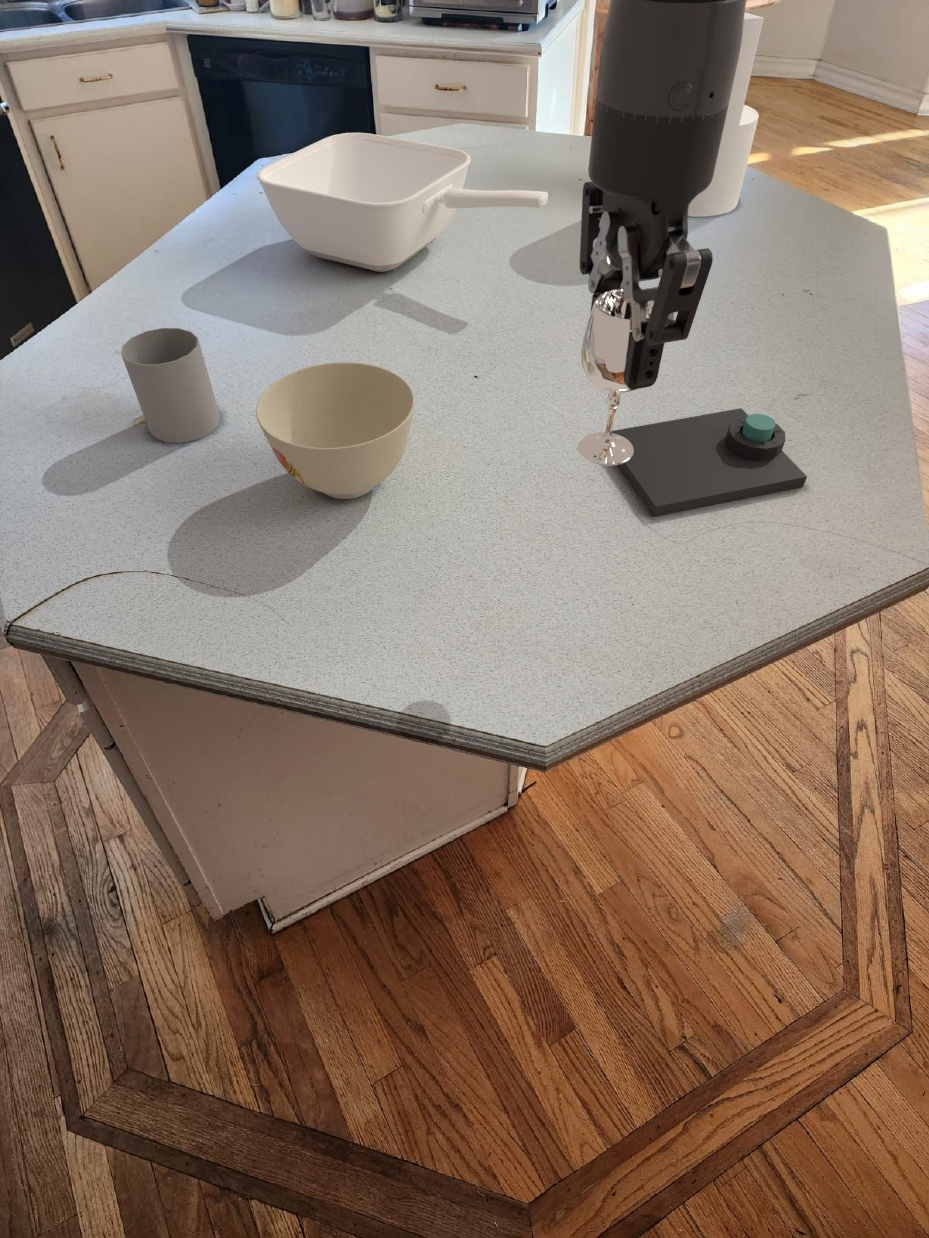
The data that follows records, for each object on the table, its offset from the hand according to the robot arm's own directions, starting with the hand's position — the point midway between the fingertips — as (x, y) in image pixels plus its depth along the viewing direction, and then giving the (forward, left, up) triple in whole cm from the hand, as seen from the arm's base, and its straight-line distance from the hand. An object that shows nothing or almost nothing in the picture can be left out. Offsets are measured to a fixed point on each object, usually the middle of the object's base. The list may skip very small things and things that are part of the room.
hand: (619, 362), depth 56 cm
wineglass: (0, 0, -8) cm, 8 cm away
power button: (-27, -15, -21) cm, 37 cm away
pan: (-2, -77, -24) cm, 80 cm away
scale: (-20, -15, -24) cm, 34 cm away
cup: (+36, -40, -24) cm, 59 cm away
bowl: (+19, -23, -24) cm, 38 cm away
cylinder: (-57, -89, -24) cm, 108 cm away
